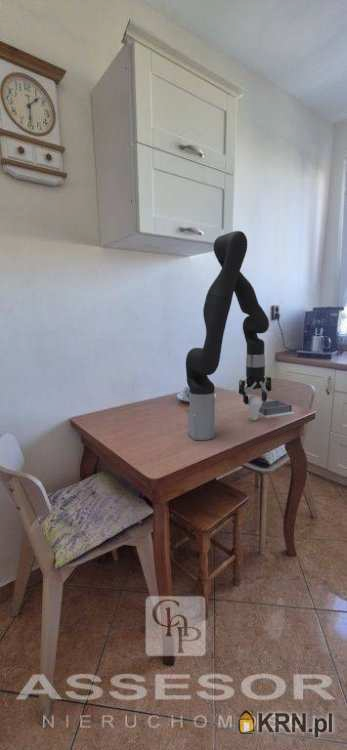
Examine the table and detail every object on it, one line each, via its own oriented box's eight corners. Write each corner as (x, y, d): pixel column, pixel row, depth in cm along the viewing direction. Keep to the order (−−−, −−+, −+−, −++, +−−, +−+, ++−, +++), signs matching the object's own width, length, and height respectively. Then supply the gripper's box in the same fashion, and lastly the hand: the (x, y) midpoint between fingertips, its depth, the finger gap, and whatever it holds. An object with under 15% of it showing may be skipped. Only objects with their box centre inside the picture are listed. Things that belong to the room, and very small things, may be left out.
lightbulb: (244, 420, 135) (244, 395, 133) (251, 417, 139) (252, 392, 137) (256, 424, 131) (257, 398, 129) (264, 420, 135) (265, 395, 133)
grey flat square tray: (267, 418, 137) (267, 410, 136) (248, 408, 151) (248, 401, 150) (296, 413, 142) (296, 406, 141) (275, 404, 155) (275, 398, 155)
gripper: (245, 368, 125) (245, 407, 128) (275, 364, 129) (275, 402, 132) (235, 365, 132) (235, 402, 135) (264, 361, 136) (264, 398, 139)
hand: (255, 402), depth 134 cm, fingers open, 8 cm apart
